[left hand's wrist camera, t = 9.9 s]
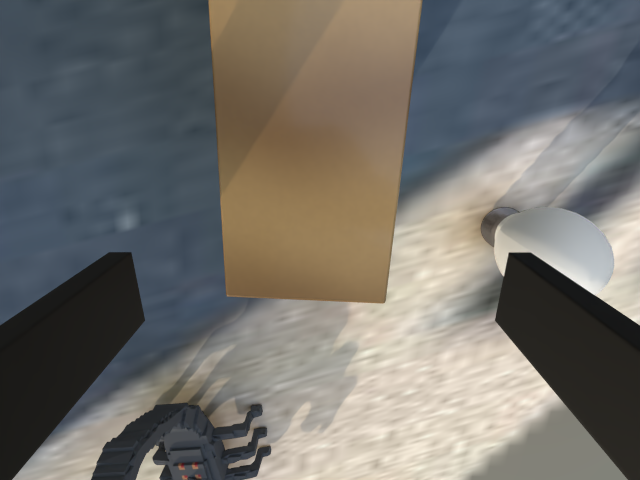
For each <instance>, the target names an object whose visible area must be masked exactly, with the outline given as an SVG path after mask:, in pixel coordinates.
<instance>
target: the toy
mask: <svg viewBox="0 0 640 480" xmlns="http://www.w3.org/2000/svg"><path fill="white" fill-rule="evenodd" d="M262 412H263V410H262V406H261V405H256V406H251V411H249V412H248V413H247V416H246V419H245V422H243V423H241V424H234V425H232V426H227V427H217V428H214V427H213V425H212V424H211V422H210V421H209V420H208V418H207V417H206V415H204V413H203V411H201V409H200V407H199V405H197V406H193V405H188V404H187V403H179V404H165V405H156V406H155V407H154V409H153V410H152V411H149V412H148V413H145V414H144V415H141V416H140V418H136V420H135V421H133V422H131V423H130V424H129V425H127V426H126V427H125V429H124V430H123V432H122V433H121V434H120V435H119V436H118V437H117V438H113V439H112V440H111V442H107V443H106V444H105V446H104V447H103V452H102V454H101V456H100V457H99V460H98V461H97V465H96V468H95V471H94V472H93V476H92V479H91V480H136V477H137V474H138V471H139V468H140V465H141V463H142V461H143V459H144V457H145V455H146V453H148V452H149V451H150V449H153V447H154V446H155V444H156V446H159V449H158V450H157V452H156V453H155V454H154V456H153V461H154V463H155V464H156V465H165V467H164V469H163V471H162V473H161V476H160V480H244V479H249V478H253V477H256V476H257V474H258V471H259V468H260V465H261V461H262V458H263V457H265V456H268V455H270V454H271V447H270V446H269V447H262V448H259V449H258V451H257V455H256V458H255V461H254V462H253V463H252V464H251V465H245V466H240V467H236V468H231V469H229V468H228V464H229V463H235V462H237V461H239V460H244V459H248V458H250V457H252V456H254V455H255V453H256V449H257V444H258V439H260V438H263V437H265V436H267V428H260V429H254V432H253V436H252V441H251V442H249V443H248V446H243V447H237V448H232V449H228V450H226V451H225V448H224V445H223V442H222V440H224V439H231V438H238V437H243V436H247V433H248V430H249V429H250V423H251V421H252V420H253V418H255V417H258V416H261V415H262ZM165 450H166V452H165Z"/></svg>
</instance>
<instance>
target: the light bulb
mask: <svg viewBox="0 0 640 480" xmlns="http://www.w3.org/2000/svg"><path fill="white" fill-rule="evenodd" d="M481 233H482V235H483V237H484V239H485V240H486V241H487V242H488V243H489V244H490V245H492V246H493V247H494V254H495V260H496V263H497V265H498V268H499V270H500V272H501V273H502V275H503V276H504V273H505V269H506V264H507V259H508V254H509V252H531V253H532V254H534V255H535V256H537V257H538V258H540V259H541V260H543V261H544V262H546V263H547V264H549V265H550V266H552V267H553V268H555V269H556V270H558V271H559V272H561V273H562V274H564V275H565V276H567V277H568V278H570V279H571V280H573V281H574V282H576V283H577V284H579V285H580V286H582V287H583V288H585V289H586V290H588V291H589V292H591V293H592V294H594V295H596V294H598V293H599V292H600V291H601V290H602V289H603V288H604V287H605V286H606V285H607V283H608V282H609V280H610V278H611V275H612V273H613V269H614V256H613V251H612V247H611V245H610V243H609V242H608V240H607V238H606V237H605V235H604V233H603V232H602V231H601V230H600V229H599V228H598V227H597V226H596V225H595V224H593V223H592V222H591V221H589V220H588V219H586V218H584V217H583V216H581V215H579V214H577V213H574V212H571V211H568V210H565V209H561V208H553V207H538V208H533V209H529V210H525V211H522V212H519V211H517V210H515V209H512V208H507V207H503V208H497V209H495V210H493V211H491V212H490V213H488V214H487V215H486V216H485V218H484V219H483V221H482V225H481Z"/></svg>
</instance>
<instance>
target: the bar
mask: <svg viewBox="0 0 640 480" xmlns="http://www.w3.org/2000/svg"><path fill="white" fill-rule="evenodd" d="M421 8H422V0H209V17H210V34H211V50H212V67H213V84H214V100H215V117H216V134H217V150H218V167H219V184H220V200H221V217H222V233H223V250H224V267H225V283H226V295H227V296H230V297H252V298H274V299H297V300H319V301H341V302H363V303H385V301H386V293H387V285H388V277H389V269H390V260H391V252H392V244H393V236H394V228H395V220H396V212H397V204H398V195H399V187H400V179H401V171H402V163H403V155H404V147H405V139H406V130H407V122H408V114H409V106H410V98H411V90H412V82H413V73H414V65H415V57H416V49H417V41H418V33H419V25H420V17H421Z"/></svg>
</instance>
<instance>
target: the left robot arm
mask: <svg viewBox="0 0 640 480" xmlns="http://www.w3.org/2000/svg"><path fill="white" fill-rule="evenodd" d="M144 321H145V318H144V313H143V308H142V303H141V298H140V293H139V288H138V283H137V278H136V273H135V269H134V264H133V259H132V254H131V252H109V253H108V254H106V255H105V256H103V257H102V258H100V259H99V260H97V261H96V262H94V263H93V264H91V265H90V266H88V267H87V268H85V269H84V270H82V271H81V272H79V273H78V274H76V275H75V276H73V277H72V278H70V279H69V280H67V281H66V282H64V283H63V284H61V285H60V286H58V287H57V288H55V289H54V290H52V291H51V292H49V293H48V294H46V295H45V296H44V297H42V298H41V299H39V300H38V301H36V302H35V303H33V304H32V305H30V306H29V307H27V308H26V309H24V310H23V311H21V312H20V313H18V314H17V315H15V316H14V317H12V318H11V319H9V320H8V321H6V322H5V323H3V324H2V325H0V480H12V479H13V478H14V477H15V475H16V474H17V473H18V472H19V471H20V470H21V468H22V467H23V466H24V465H25V464H26V462H27V461H28V460H29V459H30V458H31V456H32V455H33V454H34V453H35V452H36V450H37V449H38V448H39V447H40V446H41V444H42V443H43V442H44V441H45V440H46V438H47V437H48V436H49V435H50V434H51V432H52V431H53V430H54V429H55V428H56V426H57V425H58V424H59V423H60V422H61V420H62V419H63V418H64V417H65V416H66V414H67V413H68V412H69V411H70V410H71V408H72V407H73V406H74V405H75V404H76V402H77V401H78V400H79V399H80V398H81V396H82V395H83V394H84V393H85V392H86V390H87V389H88V388H89V387H90V386H91V384H92V383H93V382H94V381H95V380H96V379H97V377H98V376H99V375H100V374H101V373H102V371H103V370H104V369H105V368H106V367H107V365H108V364H109V363H110V362H111V361H112V359H113V358H114V357H115V356H116V355H117V353H118V352H119V351H120V350H121V349H122V347H123V346H124V345H125V344H126V343H127V341H128V340H129V339H130V338H131V337H132V335H133V334H134V333H135V332H136V331H137V329H138V328H139V327H140V326H141V325H142V323H143V322H144ZM495 321H496V322H497V323H498V325H499V326H500V327H501V328H502V329H503V331H504V332H505V333H506V334H507V335H508V337H509V338H510V339H511V340H512V341H513V343H514V344H515V345H516V346H517V347H518V349H519V350H520V351H521V352H522V353H523V355H524V356H525V357H526V358H527V359H528V361H529V362H530V363H531V364H532V365H533V367H534V368H535V369H536V370H537V371H538V373H539V374H540V375H541V376H542V377H543V379H544V380H545V381H546V382H547V383H548V385H549V386H550V387H551V388H552V389H553V390H554V392H555V393H556V394H557V395H558V396H559V398H560V399H561V400H562V401H563V402H564V404H565V405H566V406H567V407H568V408H569V410H570V411H571V412H572V413H573V414H574V416H575V417H576V418H577V419H578V420H579V422H580V423H581V424H582V425H583V426H584V428H585V429H586V430H587V431H588V432H589V434H590V435H591V436H592V437H593V438H594V440H595V441H596V442H597V443H598V444H599V446H600V447H601V448H602V449H603V450H604V452H605V453H606V454H607V455H608V456H609V458H610V459H611V460H612V461H613V462H614V464H615V465H616V466H617V467H618V468H619V469H620V471H621V472H622V473H623V474H624V475H625V477H626V478H627V479H628V480H640V325H638V324H637V323H635V322H634V321H632V320H631V319H629V318H628V317H626V316H625V315H623V314H622V313H620V312H619V311H617V310H616V309H614V308H613V307H611V306H610V305H608V304H607V303H605V302H604V301H602V300H601V299H599V298H598V297H596V296H595V295H594V294H592V293H591V292H589V291H588V290H586V289H585V288H583V287H582V286H580V285H579V284H577V283H576V282H574V281H573V280H571V279H570V278H568V277H567V276H565V275H564V274H562V273H561V272H559V271H558V270H556V269H555V268H553V267H552V266H550V265H549V264H547V263H546V262H544V261H543V260H541V259H540V258H538V257H537V256H535V255H534V254H532V253H531V252H509V254H508V259H507V264H506V269H505V273H504V278H503V283H502V288H501V293H500V298H499V303H498V308H497V313H496V318H495Z"/></svg>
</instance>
